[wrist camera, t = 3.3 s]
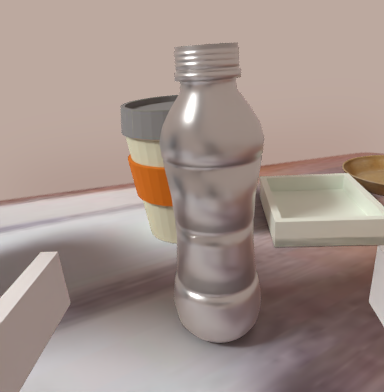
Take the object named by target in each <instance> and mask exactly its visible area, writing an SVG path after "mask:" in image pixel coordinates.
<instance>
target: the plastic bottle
mask: <svg viewBox="0 0 384 392" xmlns="http://www.w3.org/2000/svg"><path fill="white" fill-rule="evenodd" d="M174 56H175V67H176V72H175V73H174V75H175V81H180V84H181V86H180V93H179V95H178V97H177V98H176V100H175V102H174V103H173V105H172V107H171V109H170V110H169V112H168V115H167V117H166V119H165V121H164V123H163V126H162V130H161V136H160V141H159V144H160V150H161V156H162V158H163V164H164V168H165V172H166V176H167V180H168V185H169V189H170V193H171V197H172V204H173V211H174V217H175V219H176V220H175V225H176V232H177V271H176V276H175V285H174V303H175V306H176V309H177V313H178V316H179V319H180V321H181V323H182V324H183V325H184V326H185V328H186V329H187V330H189V331H190V332H191V333H192V334H193V335H195V336H196V337H198V338H200V339H202V340H205V341H209V342H215V343H224V342H230V341H234V340H236V339H239V338H240V337H242V336H243V335H245V334H246V333H247V332H248V331H249V330H250V329H251V328H252V327H253V326H254V324H255V323H256V321H257V318H258V314H259V310H260V305H261V291H260V284H259V279H258V274H257V271H256V265H255V252H254V240H253V226H254V219H253V217H254V211H255V196H256V190H257V184H258V178H259V172H260V166H261V160H262V153H263V143H264V135H263V131H262V128H261V124H260V121H259V119H258V118H257V116H256V114H255V113H254V111H253V109H252V108H251V106H250V105H249V104H248V102H247V101H246V100H245V98H244V97H243V96H242V94H241V93H240V92H239V91H238V89H237V85H236V78H238V77H241V69H240V68H239V47H238V43H220V44H205V45H192V46H181V47H175V51H174Z"/></svg>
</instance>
